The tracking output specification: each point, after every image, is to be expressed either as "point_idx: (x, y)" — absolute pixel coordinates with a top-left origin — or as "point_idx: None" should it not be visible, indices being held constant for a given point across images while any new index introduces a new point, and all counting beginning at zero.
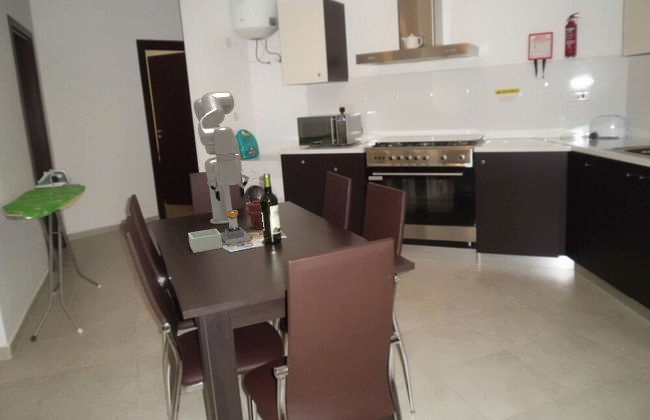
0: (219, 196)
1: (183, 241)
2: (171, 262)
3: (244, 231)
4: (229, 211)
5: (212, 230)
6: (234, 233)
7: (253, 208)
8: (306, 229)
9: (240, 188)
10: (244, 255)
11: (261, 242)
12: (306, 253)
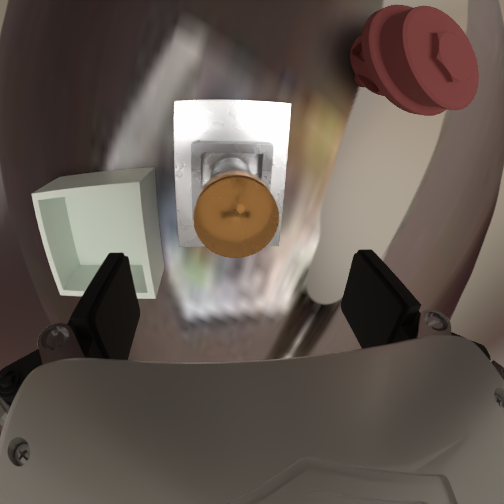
0: (127, 346)
1: (43, 94)
2: (47, 310)
3: (284, 156)
4: (219, 214)
5: (122, 190)
6: None
7: (408, 85)
8: (448, 222)
9: (393, 337)
10: (216, 355)
11: (297, 278)
12: None
